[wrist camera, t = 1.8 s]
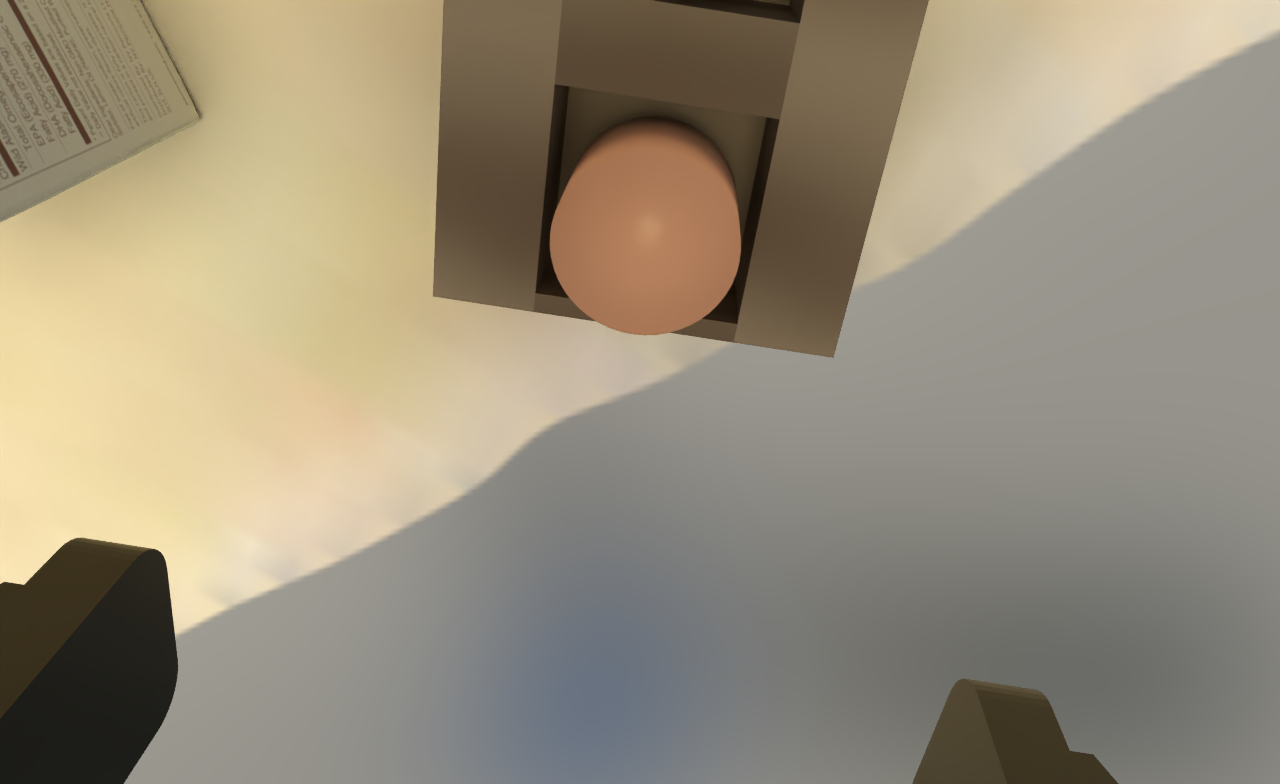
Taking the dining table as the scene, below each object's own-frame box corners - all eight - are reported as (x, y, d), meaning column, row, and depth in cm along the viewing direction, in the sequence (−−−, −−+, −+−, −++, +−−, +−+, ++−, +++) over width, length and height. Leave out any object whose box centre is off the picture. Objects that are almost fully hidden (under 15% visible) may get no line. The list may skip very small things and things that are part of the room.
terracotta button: (578, 103, 22) (559, 138, 19) (752, 131, 22) (758, 169, 19) (561, 267, 24) (541, 320, 21) (720, 291, 24) (722, 347, 21)
